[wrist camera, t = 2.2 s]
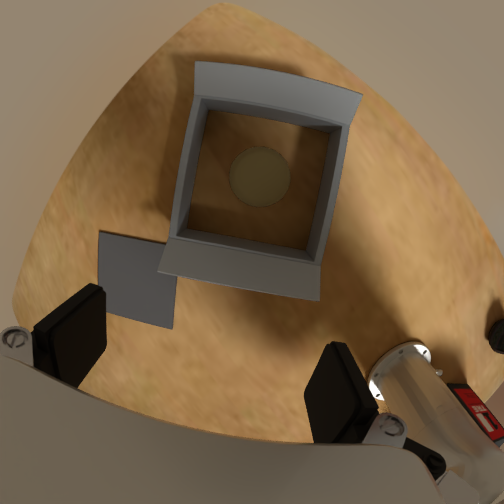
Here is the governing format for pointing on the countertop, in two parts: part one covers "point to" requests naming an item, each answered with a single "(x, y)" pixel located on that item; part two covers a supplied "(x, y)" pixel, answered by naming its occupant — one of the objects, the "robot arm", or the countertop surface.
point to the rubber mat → (135, 280)
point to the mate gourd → (497, 337)
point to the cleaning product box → (478, 412)
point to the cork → (259, 176)
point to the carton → (242, 250)
